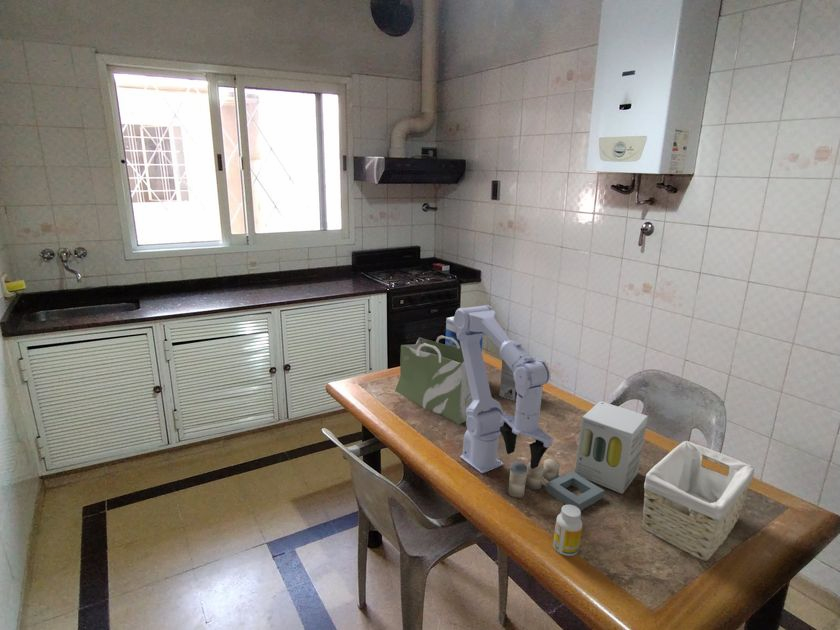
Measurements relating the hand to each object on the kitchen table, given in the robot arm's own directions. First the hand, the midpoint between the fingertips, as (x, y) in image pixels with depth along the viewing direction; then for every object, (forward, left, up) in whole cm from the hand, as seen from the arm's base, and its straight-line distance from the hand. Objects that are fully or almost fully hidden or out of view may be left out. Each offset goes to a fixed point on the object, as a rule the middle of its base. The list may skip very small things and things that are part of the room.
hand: (522, 459), depth 122 cm
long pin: (-1, 0, -10) cm, 10 cm away
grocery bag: (-52, +14, -10) cm, 55 cm away
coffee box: (-42, +41, -10) cm, 60 cm away
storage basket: (+30, +26, -10) cm, 41 cm away
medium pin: (-1, +6, -10) cm, 12 cm away
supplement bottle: (+19, -5, -10) cm, 22 cm away
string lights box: (-61, +33, -10) cm, 70 cm away
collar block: (+8, +12, -10) cm, 17 cm away
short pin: (-1, +13, -10) cm, 16 cm away
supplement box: (+7, +27, -10) cm, 29 cm away
